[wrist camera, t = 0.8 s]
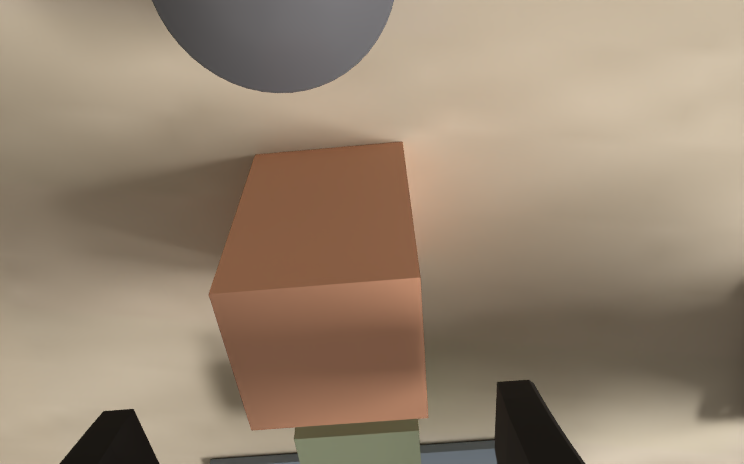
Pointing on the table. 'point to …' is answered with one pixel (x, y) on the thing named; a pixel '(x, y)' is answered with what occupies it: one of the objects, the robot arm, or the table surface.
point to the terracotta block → (324, 290)
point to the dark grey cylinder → (276, 38)
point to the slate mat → (437, 460)
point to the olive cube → (360, 443)
